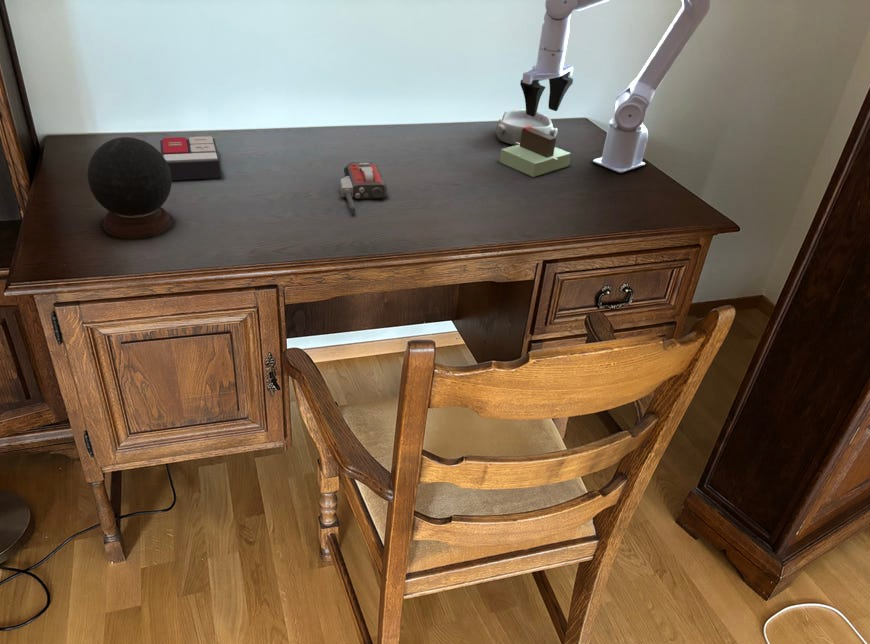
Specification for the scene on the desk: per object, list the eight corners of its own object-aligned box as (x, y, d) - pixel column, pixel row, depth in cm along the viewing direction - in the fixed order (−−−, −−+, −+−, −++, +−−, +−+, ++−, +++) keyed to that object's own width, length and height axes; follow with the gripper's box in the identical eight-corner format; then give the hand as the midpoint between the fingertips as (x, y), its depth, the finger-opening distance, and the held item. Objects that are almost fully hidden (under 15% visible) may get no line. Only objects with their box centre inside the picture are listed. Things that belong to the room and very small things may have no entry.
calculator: (214, 134, 157) (219, 156, 145) (215, 154, 160) (221, 178, 148) (159, 136, 154) (160, 159, 142) (162, 156, 157) (163, 181, 145)
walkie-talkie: (334, 174, 153) (347, 216, 138) (334, 154, 151) (347, 194, 135) (376, 174, 155) (393, 215, 139) (377, 153, 153) (395, 193, 137)
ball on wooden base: (100, 245, 123) (83, 157, 114) (94, 212, 132) (77, 128, 123) (183, 235, 127) (172, 150, 119) (170, 204, 137) (160, 123, 128)
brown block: (553, 155, 163) (556, 136, 160) (546, 157, 161) (550, 138, 159) (526, 144, 167) (529, 125, 165) (519, 146, 166) (522, 127, 163)
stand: (531, 150, 173) (533, 137, 171) (572, 167, 166) (575, 153, 164) (495, 160, 166) (497, 146, 164) (536, 179, 159) (538, 164, 157)
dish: (496, 146, 173) (499, 125, 170) (491, 127, 185) (493, 106, 182) (557, 150, 174) (561, 129, 171) (548, 130, 185) (552, 110, 182)
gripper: (559, 40, 165) (549, 102, 173) (515, 47, 156) (506, 112, 164) (585, 47, 161) (573, 111, 168) (541, 55, 152) (530, 121, 160)
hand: (541, 112), depth 166 cm, fingers open, 7 cm apart
